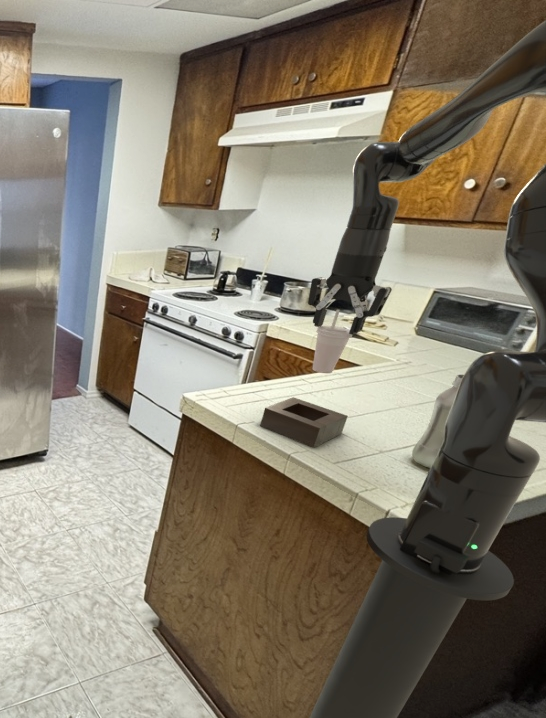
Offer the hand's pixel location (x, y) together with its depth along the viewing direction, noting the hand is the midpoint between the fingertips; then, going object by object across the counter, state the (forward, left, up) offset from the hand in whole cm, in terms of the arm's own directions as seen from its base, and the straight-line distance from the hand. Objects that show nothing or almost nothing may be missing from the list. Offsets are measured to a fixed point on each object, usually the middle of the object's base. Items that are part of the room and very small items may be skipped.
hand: (335, 329), depth 103 cm
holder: (0, 0, -25) cm, 25 cm away
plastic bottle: (+7, -22, -26) cm, 34 cm away
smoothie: (0, 0, -10) cm, 10 cm away
